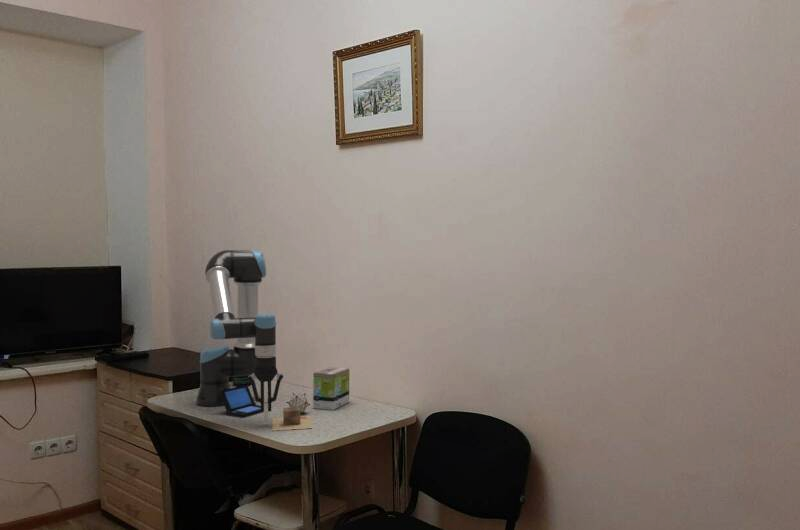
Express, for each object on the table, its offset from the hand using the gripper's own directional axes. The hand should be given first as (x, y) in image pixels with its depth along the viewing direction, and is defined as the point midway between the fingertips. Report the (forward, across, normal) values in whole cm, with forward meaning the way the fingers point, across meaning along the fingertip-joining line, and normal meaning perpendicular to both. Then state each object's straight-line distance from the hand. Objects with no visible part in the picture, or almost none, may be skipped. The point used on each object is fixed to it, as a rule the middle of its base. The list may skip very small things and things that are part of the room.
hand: (266, 420), depth 240 cm
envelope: (+2, +9, 0) cm, 9 cm away
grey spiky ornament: (+2, +12, +15) cm, 20 cm away
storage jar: (+2, -12, +78) cm, 79 cm away
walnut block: (+1, +9, 0) cm, 9 cm away
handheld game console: (+2, -9, +23) cm, 24 cm away
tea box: (+2, +26, +26) cm, 37 cm away
